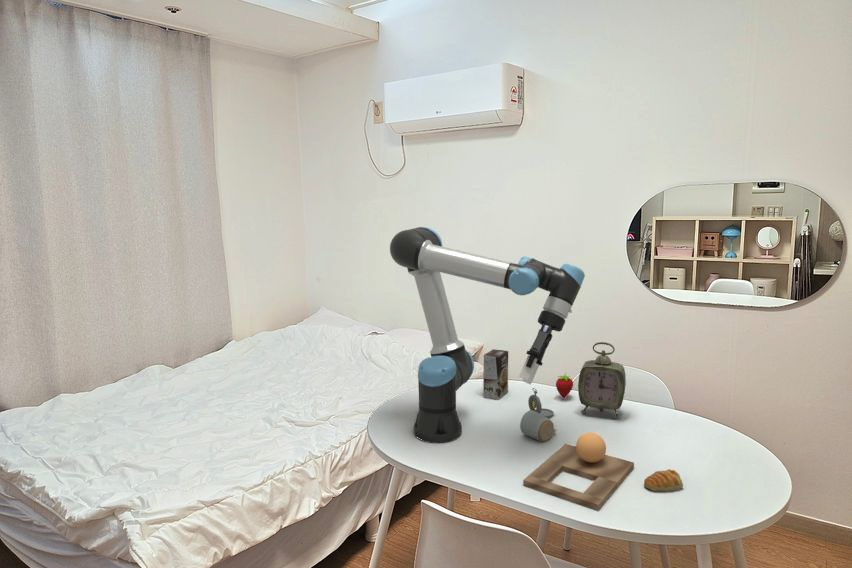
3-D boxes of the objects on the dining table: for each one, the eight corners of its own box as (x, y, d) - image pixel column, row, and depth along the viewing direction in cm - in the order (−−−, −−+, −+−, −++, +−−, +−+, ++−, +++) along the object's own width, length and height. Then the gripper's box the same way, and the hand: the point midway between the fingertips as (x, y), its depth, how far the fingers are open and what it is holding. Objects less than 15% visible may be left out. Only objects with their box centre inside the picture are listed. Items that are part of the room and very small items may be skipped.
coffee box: (498, 400, 209) (499, 357, 206) (482, 397, 212) (482, 354, 209) (508, 392, 217) (509, 350, 214) (492, 389, 220) (493, 348, 217)
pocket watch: (556, 413, 196) (557, 385, 194) (547, 422, 189) (548, 393, 187) (533, 408, 201) (534, 381, 199) (524, 417, 194) (524, 388, 192)
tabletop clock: (577, 415, 194) (579, 343, 190) (581, 406, 202) (583, 336, 198) (622, 422, 189) (626, 347, 184) (624, 411, 197) (628, 340, 192)
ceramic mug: (539, 445, 173) (540, 421, 171) (519, 436, 179) (519, 412, 178) (562, 436, 179) (563, 412, 178) (542, 428, 185) (542, 405, 184)
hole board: (523, 485, 150) (523, 480, 150) (565, 448, 171) (565, 443, 170) (598, 510, 138) (598, 504, 138) (633, 467, 159) (634, 462, 158)
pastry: (655, 496, 144) (655, 482, 144) (637, 484, 151) (637, 470, 150) (685, 489, 147) (686, 475, 147) (666, 477, 154) (667, 464, 153)
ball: (570, 462, 159) (571, 435, 158) (582, 451, 165) (583, 425, 164) (599, 470, 154) (600, 442, 153) (609, 459, 160) (611, 432, 159)
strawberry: (575, 396, 211) (576, 370, 209) (568, 403, 205) (569, 376, 203) (560, 393, 214) (560, 367, 213) (552, 400, 208) (553, 373, 207)
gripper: (566, 311, 158) (534, 382, 155) (566, 327, 182) (538, 389, 179) (540, 300, 160) (509, 370, 158) (543, 318, 184) (516, 379, 181)
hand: (524, 380), depth 168 cm, fingers open, 13 cm apart
